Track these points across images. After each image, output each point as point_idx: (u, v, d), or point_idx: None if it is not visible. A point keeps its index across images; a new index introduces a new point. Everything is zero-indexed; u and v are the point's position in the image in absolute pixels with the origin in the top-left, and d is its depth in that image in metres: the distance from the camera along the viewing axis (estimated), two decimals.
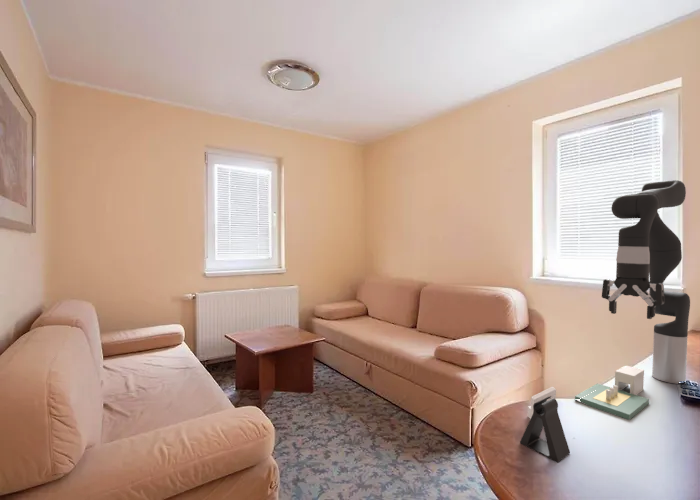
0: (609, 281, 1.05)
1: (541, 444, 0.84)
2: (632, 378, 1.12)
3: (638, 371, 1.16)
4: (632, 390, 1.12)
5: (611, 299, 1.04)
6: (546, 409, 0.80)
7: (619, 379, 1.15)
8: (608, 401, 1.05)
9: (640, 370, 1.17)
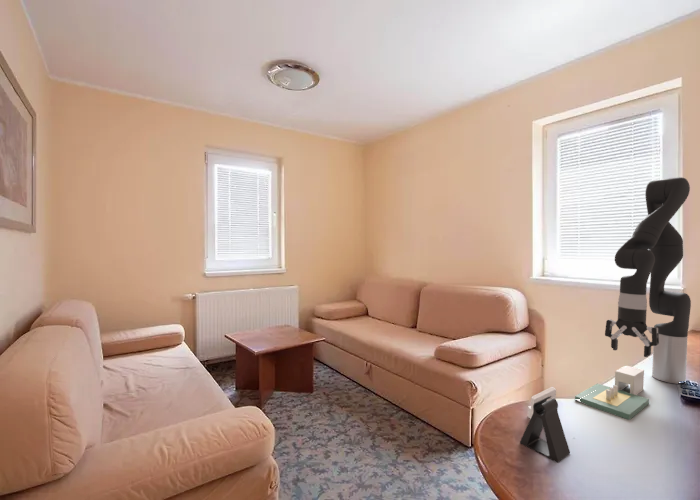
0: (611, 321, 1.21)
1: (541, 444, 0.84)
2: (632, 378, 1.12)
3: (638, 371, 1.16)
4: (632, 390, 1.12)
5: (613, 337, 1.20)
6: (546, 409, 0.80)
7: (619, 379, 1.15)
8: (608, 401, 1.05)
9: (640, 370, 1.17)
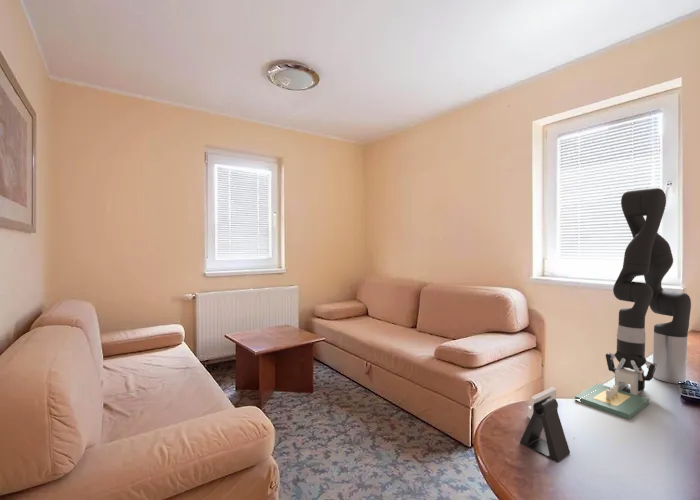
0: (610, 355, 1.21)
1: (541, 444, 0.84)
2: (632, 378, 1.12)
3: None
4: (632, 390, 1.12)
5: None
6: (546, 409, 0.80)
7: (619, 379, 1.15)
8: (608, 401, 1.05)
9: None
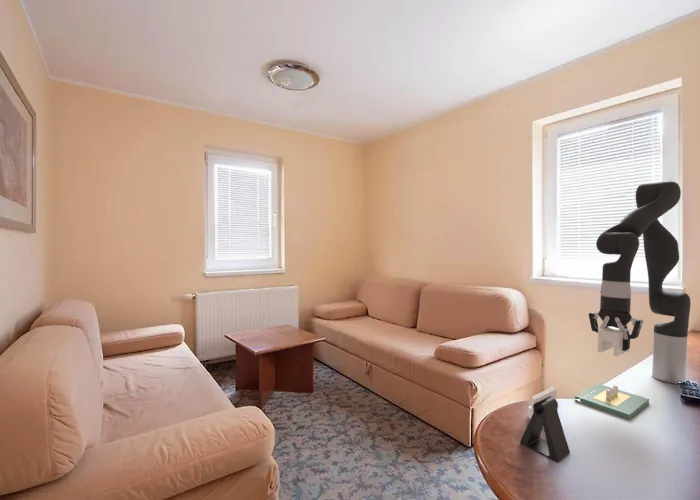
0: (594, 314, 1.11)
1: (541, 444, 0.84)
2: (616, 336, 1.03)
3: None
4: (616, 349, 1.03)
5: None
6: (546, 409, 0.80)
7: (602, 338, 1.06)
8: (608, 401, 1.05)
9: None
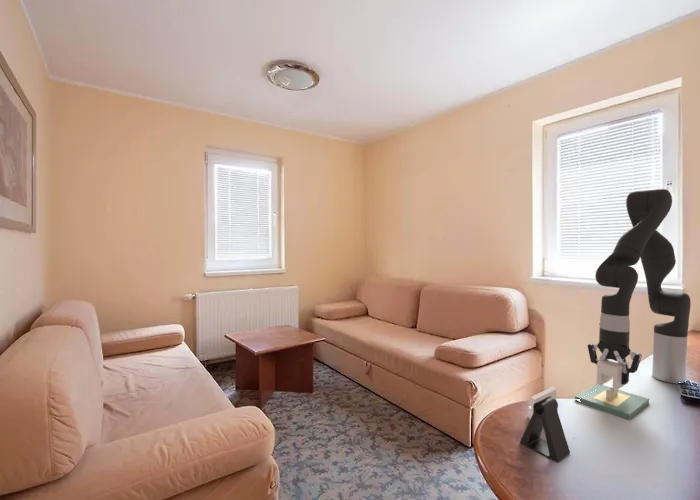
0: (593, 345, 1.12)
1: (541, 444, 0.84)
2: (615, 370, 1.03)
3: None
4: (615, 383, 1.03)
5: None
6: (546, 409, 0.80)
7: (601, 371, 1.06)
8: (608, 401, 1.05)
9: None
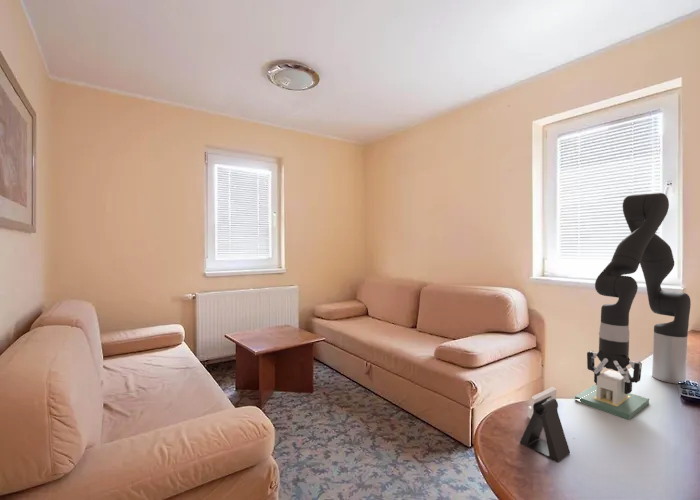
0: (592, 353, 1.12)
1: (541, 444, 0.84)
2: (615, 384, 1.03)
3: (622, 376, 1.07)
4: (615, 397, 1.03)
5: (596, 372, 1.10)
6: (546, 409, 0.80)
7: (601, 385, 1.06)
8: (608, 401, 1.05)
9: None
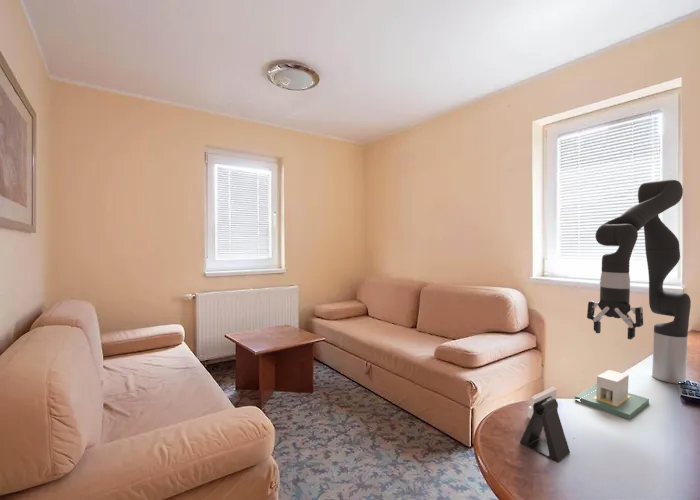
0: (593, 303, 1.13)
1: (541, 444, 0.84)
2: (615, 384, 1.03)
3: (622, 376, 1.07)
4: (615, 397, 1.03)
5: (595, 320, 1.12)
6: (546, 409, 0.80)
7: (601, 385, 1.06)
8: (608, 401, 1.05)
9: (624, 375, 1.08)
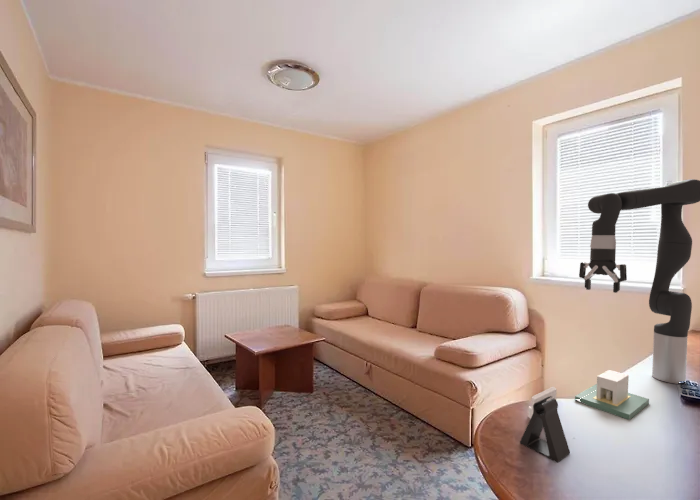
0: (585, 263, 1.30)
1: (541, 444, 0.84)
2: (615, 384, 1.03)
3: (622, 376, 1.07)
4: (615, 397, 1.03)
5: (586, 278, 1.29)
6: (546, 409, 0.80)
7: (601, 385, 1.06)
8: (608, 401, 1.05)
9: (624, 375, 1.08)
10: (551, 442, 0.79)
